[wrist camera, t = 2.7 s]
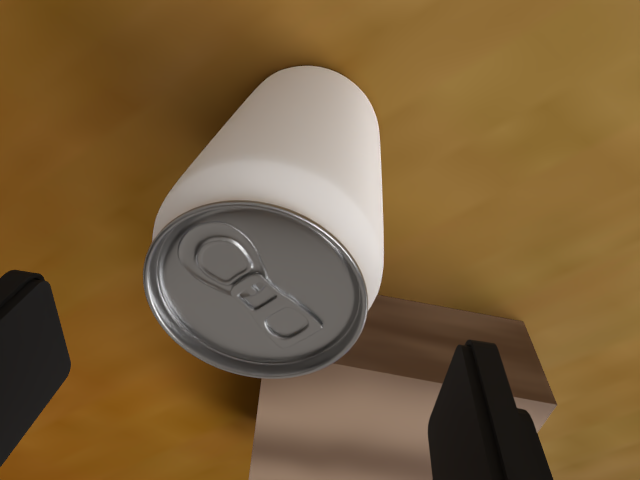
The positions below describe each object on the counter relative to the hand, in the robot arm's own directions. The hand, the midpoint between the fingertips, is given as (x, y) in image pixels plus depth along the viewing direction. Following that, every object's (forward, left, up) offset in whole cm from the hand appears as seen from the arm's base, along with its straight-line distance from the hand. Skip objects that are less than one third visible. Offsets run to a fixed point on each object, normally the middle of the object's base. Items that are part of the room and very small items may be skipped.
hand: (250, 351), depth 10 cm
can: (-1, 0, -13) cm, 13 cm away
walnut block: (+15, +6, -14) cm, 21 cm away
